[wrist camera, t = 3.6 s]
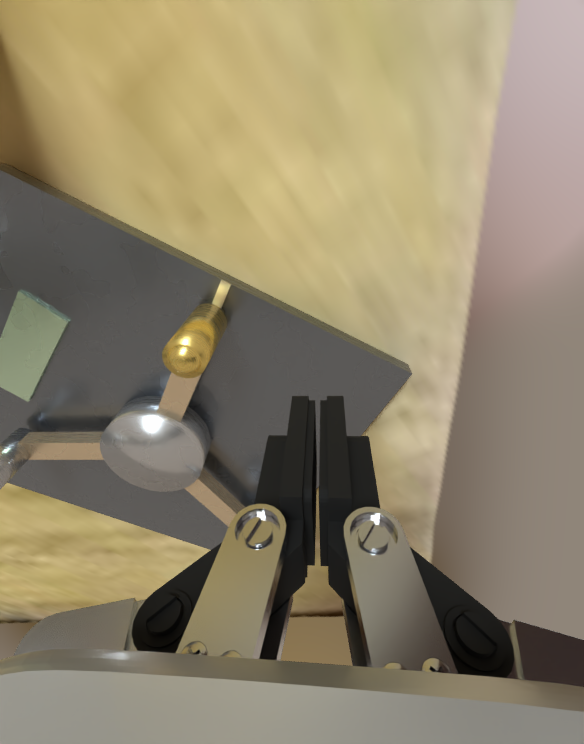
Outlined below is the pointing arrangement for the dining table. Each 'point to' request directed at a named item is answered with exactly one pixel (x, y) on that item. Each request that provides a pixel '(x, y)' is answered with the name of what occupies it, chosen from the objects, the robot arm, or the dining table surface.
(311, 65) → the dining table surface
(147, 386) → the stand plate
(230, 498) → the capstan
